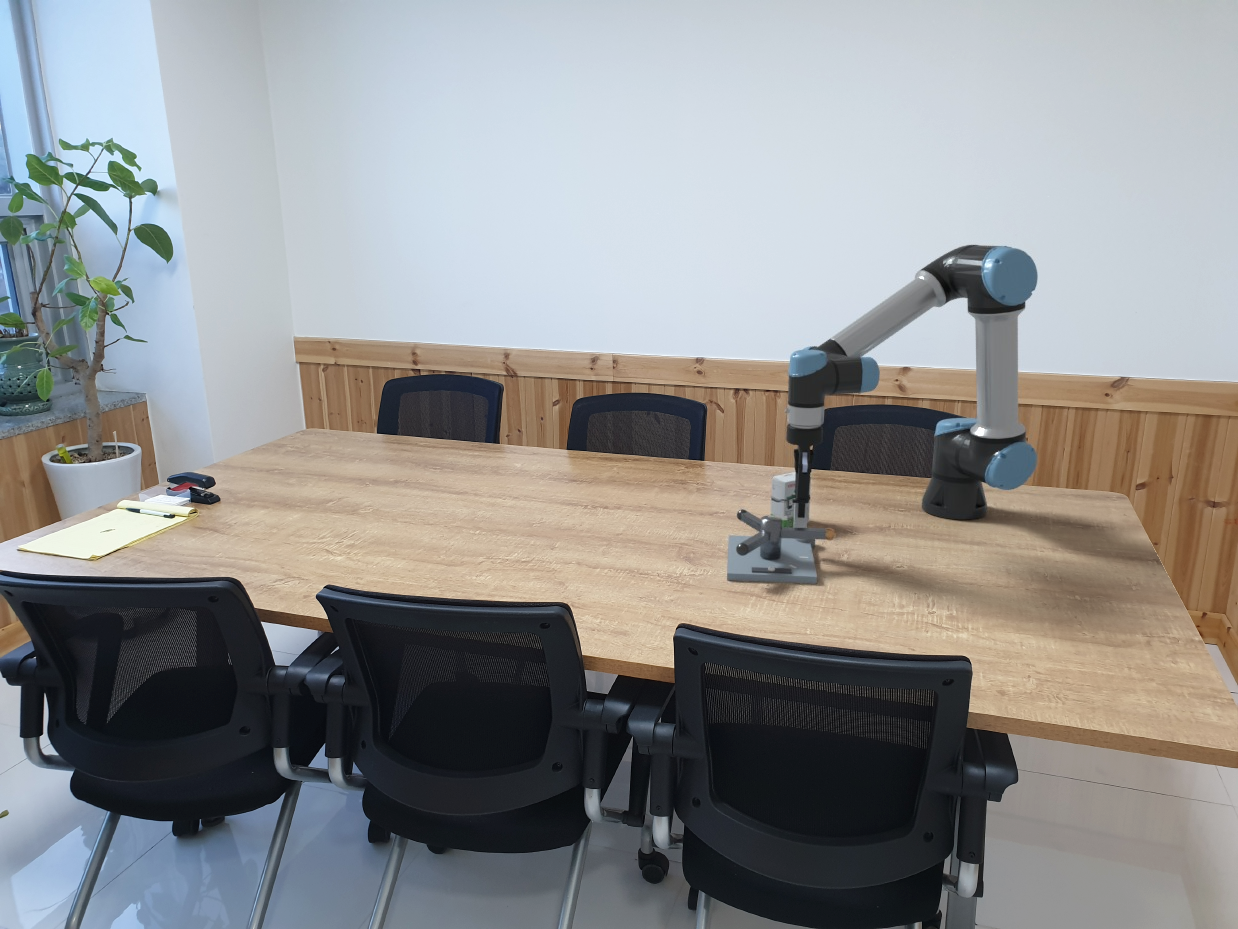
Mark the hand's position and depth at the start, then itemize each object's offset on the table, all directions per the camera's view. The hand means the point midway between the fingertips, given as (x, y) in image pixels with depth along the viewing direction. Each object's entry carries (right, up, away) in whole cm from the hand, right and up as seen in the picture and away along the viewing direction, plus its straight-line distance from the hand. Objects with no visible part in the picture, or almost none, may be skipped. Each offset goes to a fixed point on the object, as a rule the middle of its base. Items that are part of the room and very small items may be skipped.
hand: (800, 529), depth 198 cm
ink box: (+2, 0, +20) cm, 20 cm away
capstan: (-4, -5, -5) cm, 8 cm away
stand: (-7, -7, -3) cm, 10 cm away
